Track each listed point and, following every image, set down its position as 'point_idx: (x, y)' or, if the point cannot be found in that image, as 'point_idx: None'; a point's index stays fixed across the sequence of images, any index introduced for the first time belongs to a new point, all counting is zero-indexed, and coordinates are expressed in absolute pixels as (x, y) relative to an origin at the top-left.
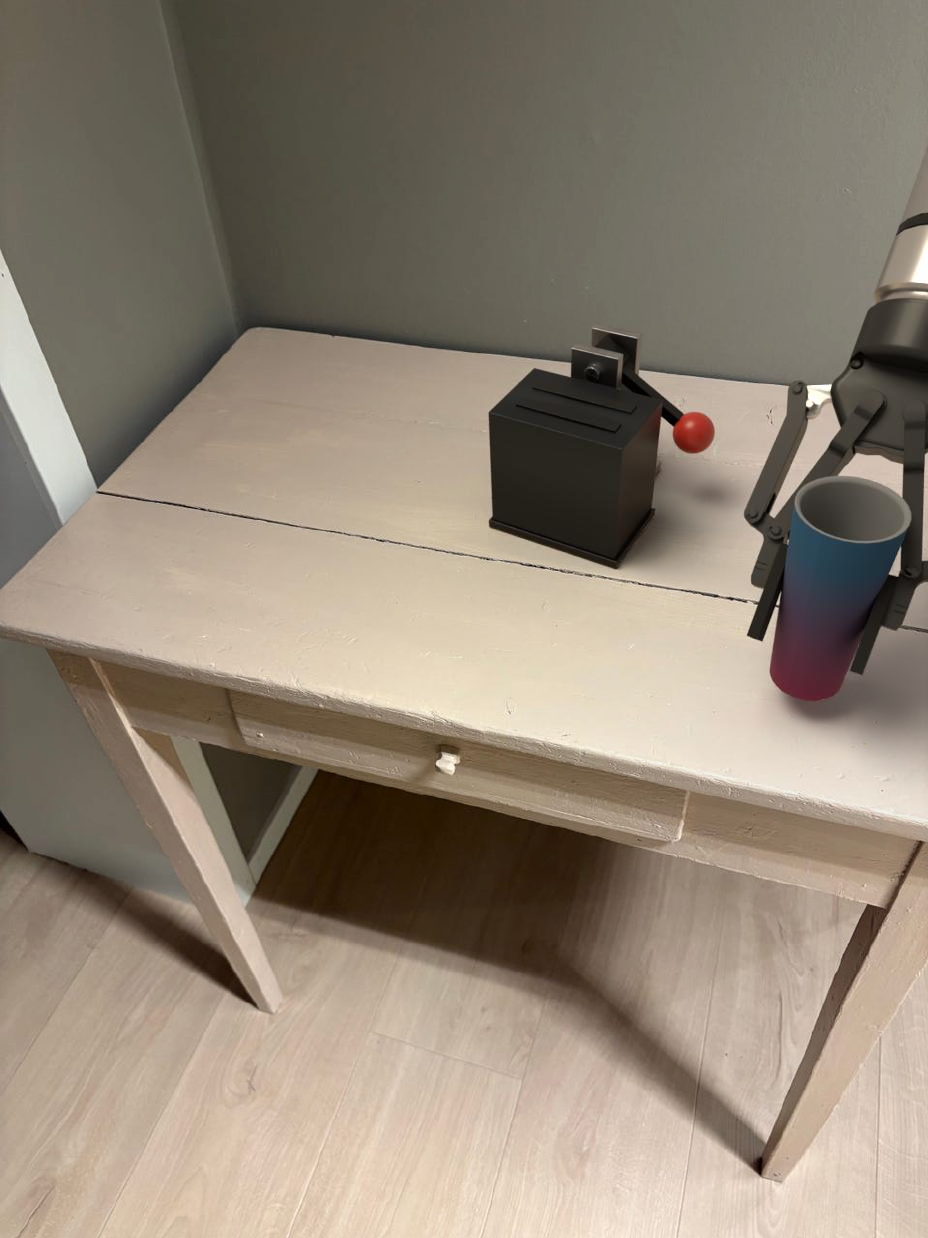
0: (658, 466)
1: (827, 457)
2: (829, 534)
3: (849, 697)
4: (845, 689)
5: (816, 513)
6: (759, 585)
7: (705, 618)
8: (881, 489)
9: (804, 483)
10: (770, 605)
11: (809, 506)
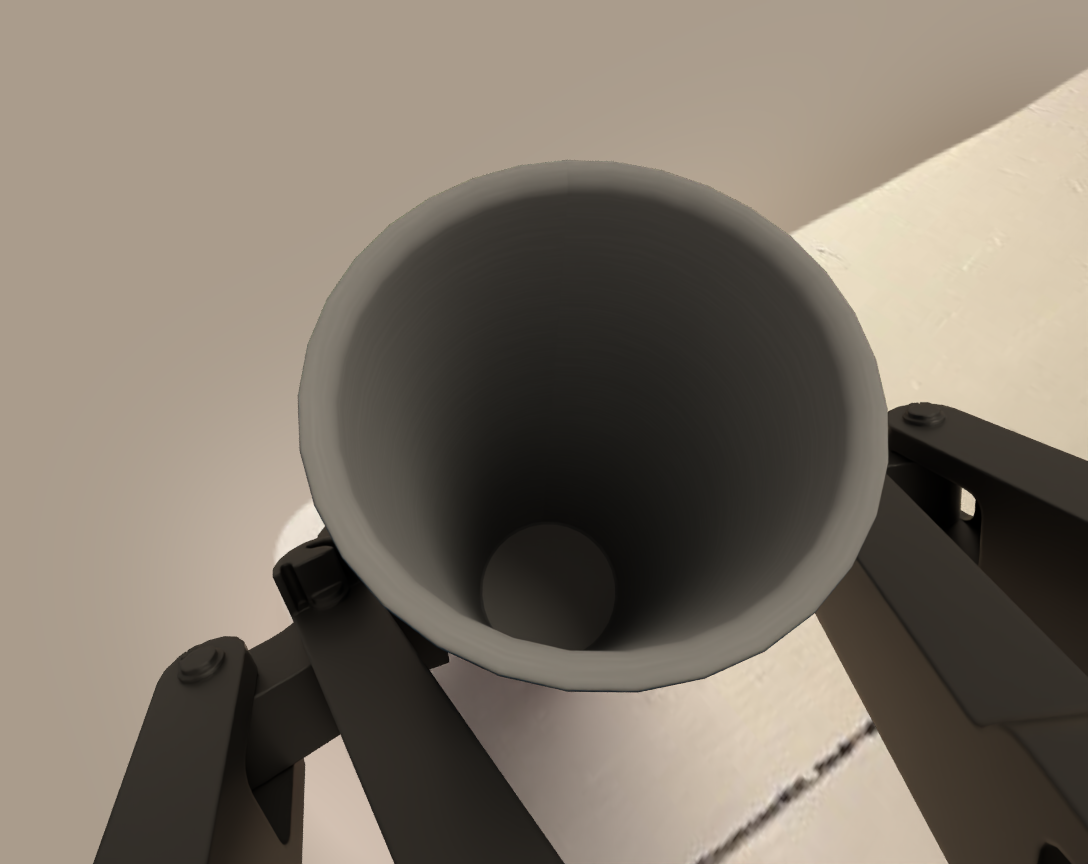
0: None
1: (1038, 672)
2: (546, 177)
3: (479, 685)
4: (497, 698)
5: (763, 516)
6: None
7: (823, 648)
8: (598, 653)
9: (937, 545)
10: None
11: (793, 453)
